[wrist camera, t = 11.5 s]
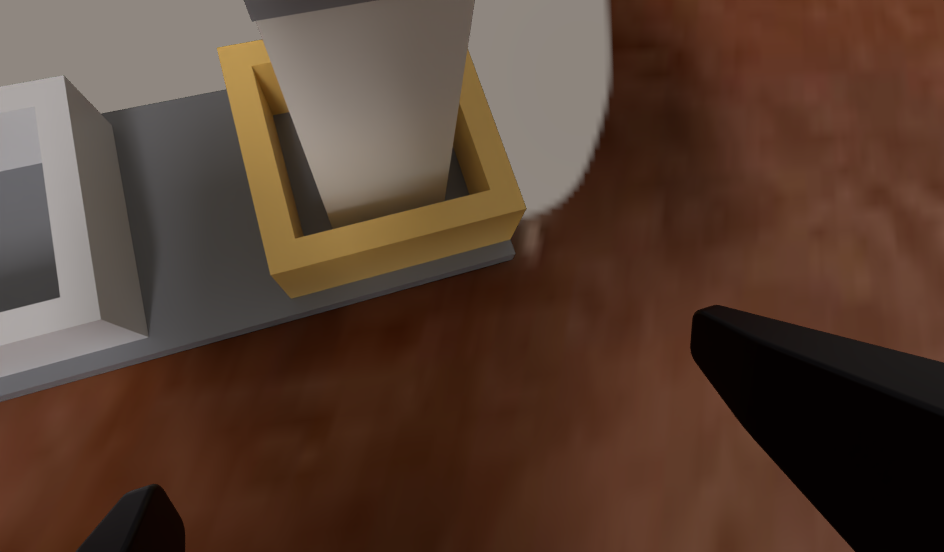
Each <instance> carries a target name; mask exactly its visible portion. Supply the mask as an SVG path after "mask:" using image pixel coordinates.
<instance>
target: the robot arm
mask: <svg viewBox="0 0 944 552" xmlns="http://www.w3.org/2000/svg"><path fill="white" fill-rule="evenodd" d="M690 349H691V354H692V357H693V359H694V361H695V362H696V364H697V365H698V366H699V368H700V369H701V370H702V372H703V373H704V374H705V376H706V377H707V379H708V380H709V381H710V383H711V384H712V385H713V387H714V388H715V389H716V391H717V392H718V394H719V395H720V396H721V398H722V399H723V400H724V402H725V403H726V404H727V406H728V407H729V409H730V410H731V411H732V413H733V414H734V415H735V417H736V418H737V419H738V421H739V422H740V423H741V424H742V426H743V427H744V428H745V429H746V431H747V432H748V433H749V434H750V435H751V436H752V438H753V439H754V440H755V441H756V442H757V443H758V444H759V445H760V446H761V448H762V449H763V450H764V451H765V452H766V453H767V454H768V455H769V456H770V458H771V459H772V460H773V461H774V462H775V463H776V464H777V465H778V467H779V468H780V469H781V470H782V471H783V472H784V473H785V474H786V475H787V477H788V478H789V479H790V480H791V481H792V482H793V483H794V484H795V485H796V487H797V488H798V489H799V490H800V491H801V492H802V493H803V494H804V495H805V497H806V498H807V499H808V500H809V501H810V502H811V503H812V504H813V505H814V507H815V508H816V509H817V510H818V511H819V512H820V513H821V514H822V515H823V517H824V518H825V519H826V520H827V521H828V522H829V523H830V524H831V525H832V527H833V528H834V529H835V530H836V531H837V532H838V533H839V534H840V535H841V537H842V538H843V539H844V540H845V541H846V542H847V543H848V544H849V545H850V547H851V548H852V549H853V550H854V551H855V552H944V363H943V362H939V361H935V360H931V359H927V358H924V357H920V356H916V355H912V354H908V353H904V352H900V351H896V350H892V349H888V348H884V347H881V346H877V345H873V344H869V343H865V342H861V341H857V340H853V339H849V338H845V337H841V336H837V335H834V334H830V333H826V332H822V331H818V330H814V329H810V328H806V327H802V326H798V325H795V324H791V323H787V322H783V321H779V320H775V319H771V318H767V317H763V316H759V315H755V314H752V313H748V312H744V311H740V310H736V309H732V308H728V307H724V306H720V305H713V306H709V307H706V308H703V309H700V310H698V311H696V312H695V313H694V315H693V319H692V331H691V343H690ZM76 552H185V529H184V524H183V521H182V519H181V517H180V515H179V514H178V512H177V510H176V509H175V507H174V505H173V504H172V502H171V501H170V499H169V497H168V496H167V494H166V493H165V491H164V489H163V488H162V487H161V486H159V485H157V484H151V485H148V486H145V487H142V488H139V489H136V490H132V491H130V492H128V493H126V494H125V495H124V496H123V497H122V498H121V499H120V500H119V501H118V502H117V504H116V505H115V506H114V507H113V508H112V509H111V511H110V512H109V513H108V514H107V515H106V516H105V518H104V519H103V520H102V521H101V522H100V524H99V525H98V526H97V527H96V528H95V529H94V531H93V532H92V533H91V534H90V535H89V536H88V538H87V539H86V540H85V541H84V542H83V543H82V545H81V546H80V547H79V548H78V549H77V551H76Z"/></svg>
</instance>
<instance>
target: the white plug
mask: <svg viewBox="0 0 944 552" xmlns="http://www.w3.org/2000/svg"><path fill="white" fill-rule="evenodd" d="M244 2H245V5H246V7H247V10H248V13H249V15H250V18H251V20H252V21H256V23H257V26H258V29H259V31H260V34H261V37H262V40H263V42H264V45H265V48H266V50H267V53H268V56H269V58H270V61H271V64H272V67H273V69H274V72H275V75H276V77H277V80H278V83H279V85H280V88H281V91H282V93H283V96H284V99H285V102H286V104H287V107H288V110H289V112H290V115H291V118H292V120H293V123H294V126H295V129H296V131H297V134H298V137H299V139H300V142H301V145H302V147H303V150H304V153H305V155H306V158H307V161H308V164H309V166H310V169H311V172H312V174H313V177H314V180H315V182H316V185H317V188H318V190H319V193H320V196H321V199H322V201H323V204H324V207H325V209H326V212H327V215H328V217H329V220H330V223H331V226H332V228H333V229H336V228H340V227H344V226H348V225H352V224H356V223H360V222H364V221H368V220H372V219H376V218H380V217H384V216H388V215H392V214H396V213H400V212H404V211H408V210H412V209H416V208H420V207H424V206H428V205H432V204H436V203H440V202H444V201H445V194H446V187H447V181H448V174H449V167H450V161H451V154H452V148H453V141H454V134H455V128H456V121H457V115H458V108H459V101H460V95H461V88H462V82H463V75H464V68H465V62H466V55H467V49H468V41H469V35H470V29H471V22H472V15H473V9H474V2H475V0H244Z"/></svg>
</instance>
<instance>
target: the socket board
mask: <svg viewBox="0 0 944 552" xmlns="http://www.w3.org/2000/svg"><path fill="white" fill-rule="evenodd" d="M217 50H218V55H219V59H220V63H221V67H222V71H223V76H224V80H225V84H226V90H221V91H216V92H211V93H206V94H200V95H195V96H190V97H185V98H180V99H175V100H170V101H164V102H159V103H154V104H149V105H144V106H138V107H133V108H128V109H124V110H118V111H113V112H108V113H103V114H100V113H99V112H98V110H96V108H94V106H93V105H92V104H91V103H90V102H89V101H88V100H87V99H86V98H85V97H84V96H83V95H82V94H81V93H80V92H79V91H78V90H77V89H76V88H75V87H74V86H73V85H72V84H71V82H70V81H69V80H68V79H67V78H66V77H65V76H64V75H62V76H56V77H51V78H45V79H40V80H34V81H29V82H23V83H17V84H12V85H6V86H1V87H0V402H1V401H5V400H8V399H12V398H16V397H19V396H23V395H26V394H30V393H34V392H37V391H41V390H44V389H48V388H52V387H55V386H59V385H62V384H66V383H70V382H73V381H77V380H80V379H84V378H87V377H91V376H95V375H98V374H102V373H105V372H109V371H113V370H116V369H120V368H123V367H127V366H131V365H134V364H138V363H141V362H145V361H149V360H152V359H156V358H159V357H163V356H167V355H170V354H174V353H177V352H181V351H185V350H188V349H192V348H195V347H199V346H203V345H206V344H210V343H213V342H217V341H221V340H224V339H228V338H231V337H235V336H239V335H242V334H246V333H249V332H253V331H257V330H260V329H264V328H267V327H271V326H275V325H278V324H282V323H285V322H289V321H293V320H296V319H300V318H303V317H307V316H311V315H314V314H318V313H321V312H325V311H329V310H332V309H336V308H339V307H343V306H346V305H350V304H354V303H357V302H361V301H364V300H368V299H372V298H375V297H379V296H382V295H386V294H390V293H393V292H397V291H400V290H404V289H408V288H411V287H415V286H418V285H422V284H426V283H429V282H433V281H436V280H440V279H444V278H447V277H451V276H454V275H458V274H462V273H465V272H469V271H472V270H476V269H480V268H483V267H487V266H490V265H494V264H498V263H501V262H505V261H508V260H512V259H513V257H514V255H515V251H514V248H513V245H512V242H511V240H510V239H511V237H512V236H513V234H514V232H515V230H516V228H517V226H518V224H519V222H520V220H521V218H522V216H523V214H524V212H525V210H526V209H527V208H526V206H525V203H524V201H523V198H522V195H521V192H520V189H519V187H518V184H517V181H516V179H515V176H514V173H513V171H512V168H511V165H510V162H509V160H508V157H507V154H506V152H505V149H504V146H503V143H502V141H501V138H500V135H499V132H498V130H497V127H496V124H495V122H494V119H493V116H492V113H491V111H490V108H489V105H488V102H487V100H486V97H485V94H484V92H483V89H482V86H481V83H480V81H479V78H478V75H477V73H476V70H475V67H474V64H473V62H472V59H471V56H470V54H469V51H468V49H467V55H466V62H465V68H464V75H463V82H462V88H461V95H460V101H459V108H458V115H457V121H456V128H455V134H454V141H453V148H452V154H451V161H450V167H449V174H448V181H447V187H446V194H445V201H444V202H440V203H436V204H432V205H428V206H424V207H420V208H416V209H412V210H408V211H404V212H400V213H396V214H392V215H388V216H384V217H380V218H376V219H372V220H368V221H364V222H360V223H356V224H352V225H348V226H344V227H340V228H336V229H333V228H332V226H331V223H330V220H329V217H328V215H327V212H326V209H325V207H324V204H323V201H322V199H321V196H320V193H319V190H318V188H317V185H316V182H315V180H314V177H313V174H312V172H311V169H310V166H309V164H308V161H307V158H306V155H305V153H304V150H303V147H302V145H301V142H300V139H299V137H298V134H297V131H296V129H295V126H294V123H293V120H292V118H291V115H290V112H289V110H288V107H287V104H286V102H285V99H284V96H283V93H282V91H281V88H280V85H279V83H278V80H277V77H276V75H275V72H274V69H273V67H272V64H271V61H270V58H269V56H268V53H267V50H266V48H265V45H264V42H263V40H257V41H251V42H246V43H240V44H235V45H229V46H224V47H218V48H217Z"/></svg>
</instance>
